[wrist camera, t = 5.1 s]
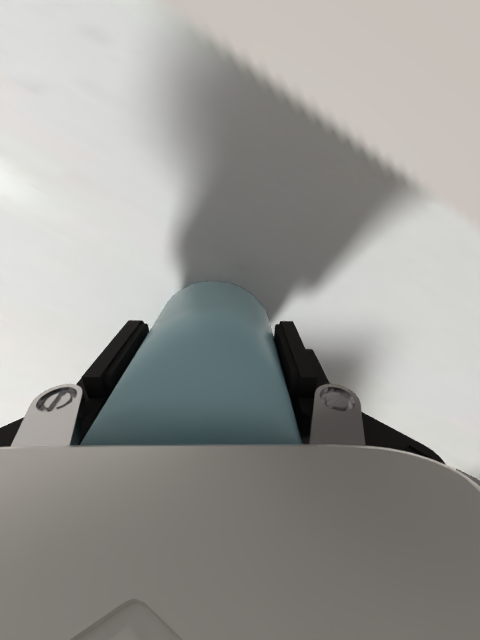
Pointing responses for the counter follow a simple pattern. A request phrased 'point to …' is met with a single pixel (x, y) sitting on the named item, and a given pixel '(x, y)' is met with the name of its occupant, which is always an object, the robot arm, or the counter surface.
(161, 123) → the counter surface
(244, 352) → the drain pump
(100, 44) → the counter surface
